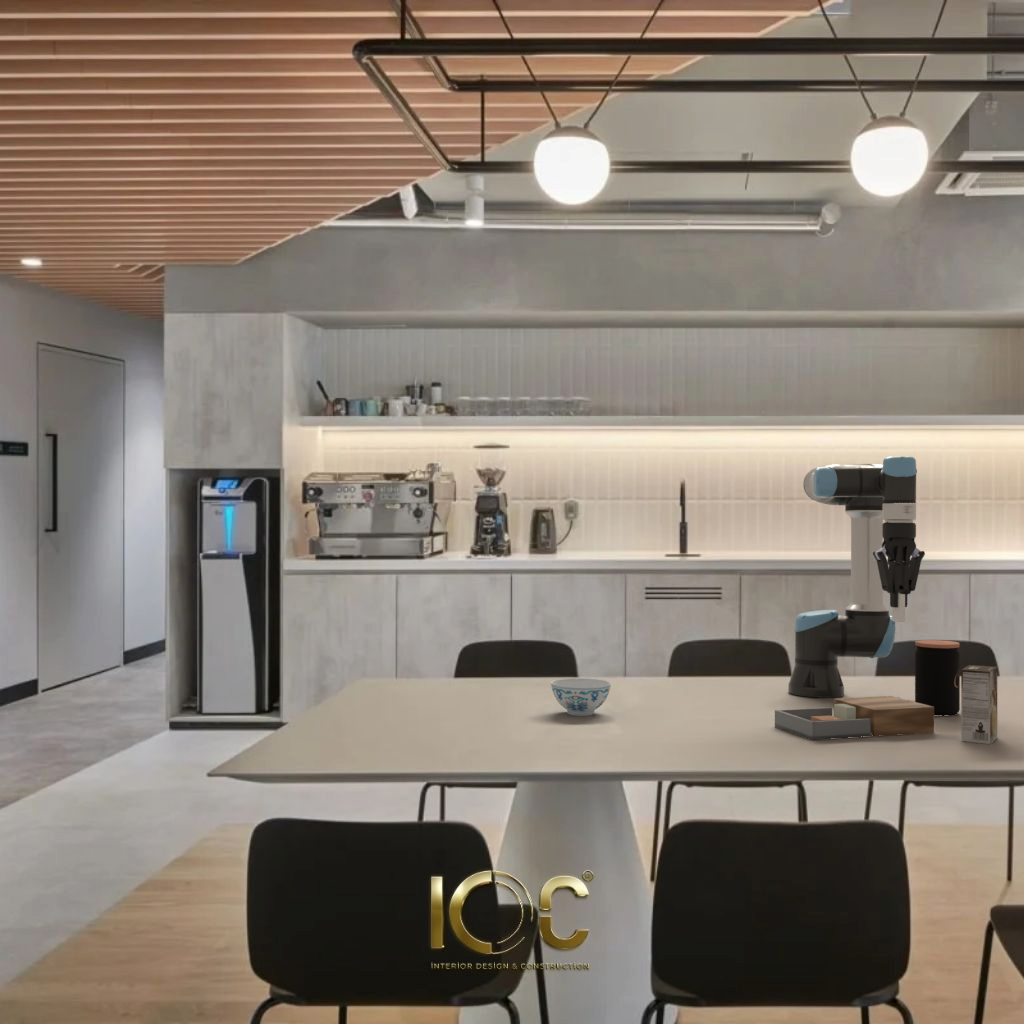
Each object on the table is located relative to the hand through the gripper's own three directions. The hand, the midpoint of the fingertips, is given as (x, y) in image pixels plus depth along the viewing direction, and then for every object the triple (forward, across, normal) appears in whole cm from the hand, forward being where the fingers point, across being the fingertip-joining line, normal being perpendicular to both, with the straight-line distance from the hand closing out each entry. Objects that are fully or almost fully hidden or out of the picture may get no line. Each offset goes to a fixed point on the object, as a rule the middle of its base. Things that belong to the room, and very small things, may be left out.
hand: (898, 621), depth 259 cm
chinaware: (+25, -67, +36) cm, 80 cm away
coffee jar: (+26, +21, +14) cm, 36 cm away
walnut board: (+25, -4, -1) cm, 25 cm away
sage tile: (+22, -14, -1) cm, 26 cm away
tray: (+25, -21, -1) cm, 33 cm away
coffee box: (+25, +9, -18) cm, 32 cm away
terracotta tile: (+22, -20, -1) cm, 30 cm away
